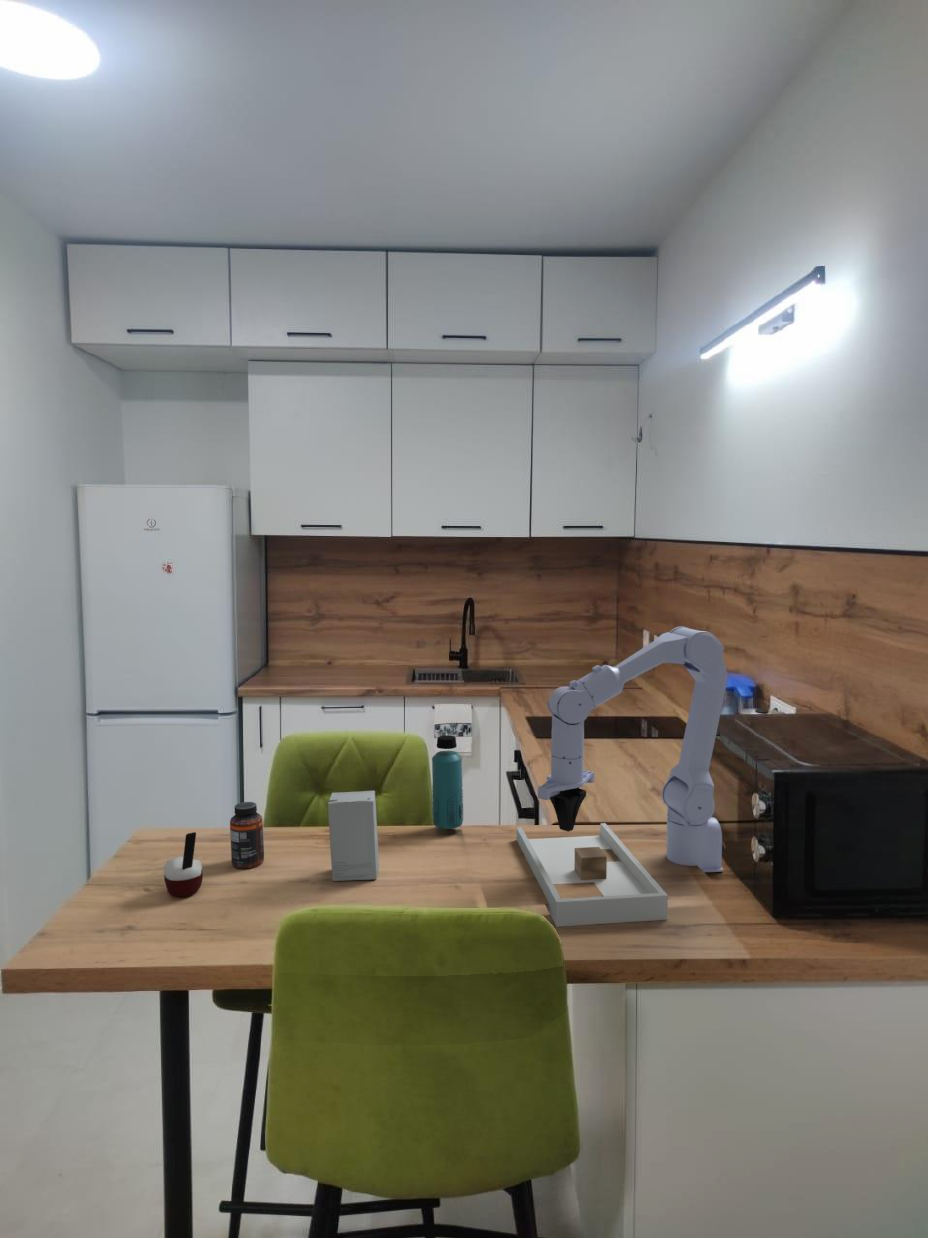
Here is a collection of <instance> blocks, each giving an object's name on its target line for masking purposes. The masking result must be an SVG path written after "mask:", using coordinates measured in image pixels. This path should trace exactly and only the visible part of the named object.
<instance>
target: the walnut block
mask: <svg viewBox="0 0 928 1238" xmlns="http://www.w3.org/2000/svg"><path fill="white" fill-rule="evenodd" d="M607 857H608V856H607V855H606V854H605V852H604V851H603V850H601V849H600V847H586V848H575V864H574V870H575V871H576V873H577V874H578V876H579V878H580V879H581V880H595V879H606V874H607V862H608V860H607V859H608V858H607Z"/></svg>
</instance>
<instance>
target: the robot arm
mask: <svg viewBox="0 0 928 1238" xmlns="http://www.w3.org/2000/svg"><path fill="white" fill-rule="evenodd" d="M724 650H725V647H724V645H723V644H722V643H721V642H720V640H719V639H718V638H717V637H716V636H715V634H713V633H712V632H709V631H703V630H697V629H693V628H689V627H687V626H677V627H674V628H673V629H671V630H670V631H669V632H668V631H667V632H664V633H661V634H660V635H659V636H658V637H657V638H656V639H655V640H653V641H651V642H649V643H648V644H647V645H646V646H644V647H643V648H641V649H639V650H638V651H636V652H635V653H633V654H632V655H630V656H629V657H627V658H625V659H624V660H622V661H621V662H620V663H618V664H616V665H615V666H611V665H607V664H604V665H602V666H601V665H598V664H597V665H594V666H593V667H591V669H592V671H591V672H590V673H587V674H585V676H582V677H581V678H579V679H577V680H575V679H573V680H570V681H569V686H560V687H557V688H556V689H554V690H553V691H552V693H551V695H550V696H549V698H548V701H547V702H546V705H547V709H548V711H549V712H550V714H551V748H550V749H551V750H550V754H551V755H550V756H551V757H550V759H551V760H550V774H548V775H546V780H547V781H545V782H544V783H543V784H542V785H540V786H538V788H537V799H541V800H544V801H549V800H550V803H552V807H553V809H554V812H555V815H556V819H557V822H558V823H557V824H558V827H559V830H561V831H565V832H567V833H569V832H571V831H573V830H574V828H575V824H576V820H577V817H578V813H579V811H580V807H581V805H582V803H583V801H585V798H586V797H587V790H585V789H583V788H582V787H584V785H586V784H587V783H589V784H592V783H594V782H595V771H592V770H587V769H584V765H585V764H584V763H585V761H584V758H585V757H584V755H585V751H584V750H585V720H587V718H588V717H589V715H590V713H591V712H590V711H592V710H594V709H596V708H597V707H599V706H600V705H602V704H605V703H606V702H608V701H609V700H611V699H613V698H614V697H616V696H618V695H620V694H621V693H622V691H623V690H624V685H625V683H627V682H629V681H630V680H633V679H635V678H637V677H638V676H640V675H643V674H644V673H646V672H648V671H650V670H652V669H653V668H656V667H658V666H660V665H661V664H680V665H682V666H683V667H684V668H685V670H686V671H687V672H688V673H689V674H690V676H691V677H692V679H693V680H694V686H693V691H692V696H691V701H690V706H689V711H688V716H687V721H686V725H685V730H684V735H683V741H682V745H681V750H680V754H679V755H680V756H679V760H678V763H677V764H676V765H675V766H674V767H672V768H671V769H670V772H669V776H668V779H667V780H666V781H665V783H664V784H663V786H662V789H661V799H662V801H663V803H664V805H665V806H667V811H666V812H667V813H666V850H665V851H666V852H665V853H666V855H665V856H666V859H667V860H668V861H670V862H673V863H674V864H677V865H681V866H687V867H688V866H695V867H696V866H697V867H698V868H699V869H700V870H701V871H702V872H703V873H716V872H719V873H720V872H723V871H724V868H723V867H722V858H723V856H722V855H723V833H722V828H721V824H720V823H719V821H718V819H717V818H715V817H713V815H714V812H715V809H716V808H715V807H716V803H715V799H714V790H715V784H714V781H713V779H712V776H711V775H710V772H709V770H710V767H711V762H712V761H711V760H712V756H713V751H714V747H715V743H716V737H717V731H718V727H719V723H720V718H721V712H722V708H723V702H724V697H725V693H726V689H727V683H728V671H727V667H726V663H725V660H724V655H723V654H724Z"/></svg>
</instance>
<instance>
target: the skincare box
mask: <svg viewBox="0 0 928 1238" xmlns="http://www.w3.org/2000/svg"><path fill="white" fill-rule="evenodd" d="M327 813H328V833H329V846H330V847H329V848H330V862H331V877H332V882H342V881H344V882H345V881H367V880H370V881H371V880H372V881H373V880H377V878H378V873H379V868H380V859H379V839H378V826H377V825H378V824H377V822H378V821H377V804H376V791H375V790H363V791H348V792H347V791H346V792H332V793H331V795H330V797H329V800H328V802H327Z"/></svg>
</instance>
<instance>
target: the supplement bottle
mask: <svg viewBox="0 0 928 1238" xmlns="http://www.w3.org/2000/svg"><path fill="white" fill-rule="evenodd" d="M257 811H258V807H257V803H256V802H253V801H243V802H238V803H237V804H235V805H234V812H233V813H234V815H233V816H232V817H231V818H230V821H229V829H230V830H229V831H230V832H229V833H230V853H231V856H230V857H231V865H232V866H233V867H234V868H236V869H252V868H256V867H258V866H260V865H261V864H263V863H264V860H265V849H264V848H265V847H264V844H265V843H264V826H263V825H264V824H263V816H262V815H261V814H260V813H259V812H257Z"/></svg>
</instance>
